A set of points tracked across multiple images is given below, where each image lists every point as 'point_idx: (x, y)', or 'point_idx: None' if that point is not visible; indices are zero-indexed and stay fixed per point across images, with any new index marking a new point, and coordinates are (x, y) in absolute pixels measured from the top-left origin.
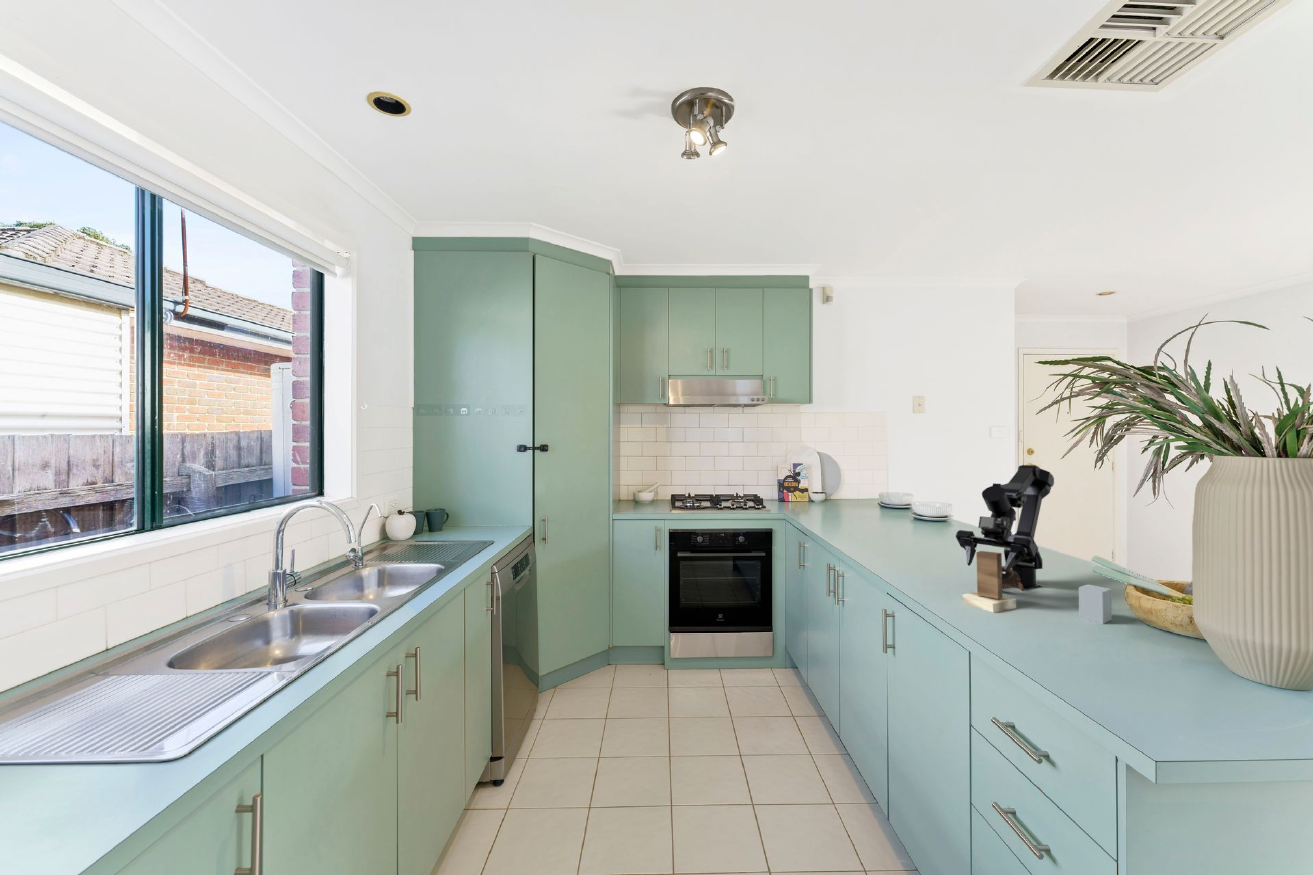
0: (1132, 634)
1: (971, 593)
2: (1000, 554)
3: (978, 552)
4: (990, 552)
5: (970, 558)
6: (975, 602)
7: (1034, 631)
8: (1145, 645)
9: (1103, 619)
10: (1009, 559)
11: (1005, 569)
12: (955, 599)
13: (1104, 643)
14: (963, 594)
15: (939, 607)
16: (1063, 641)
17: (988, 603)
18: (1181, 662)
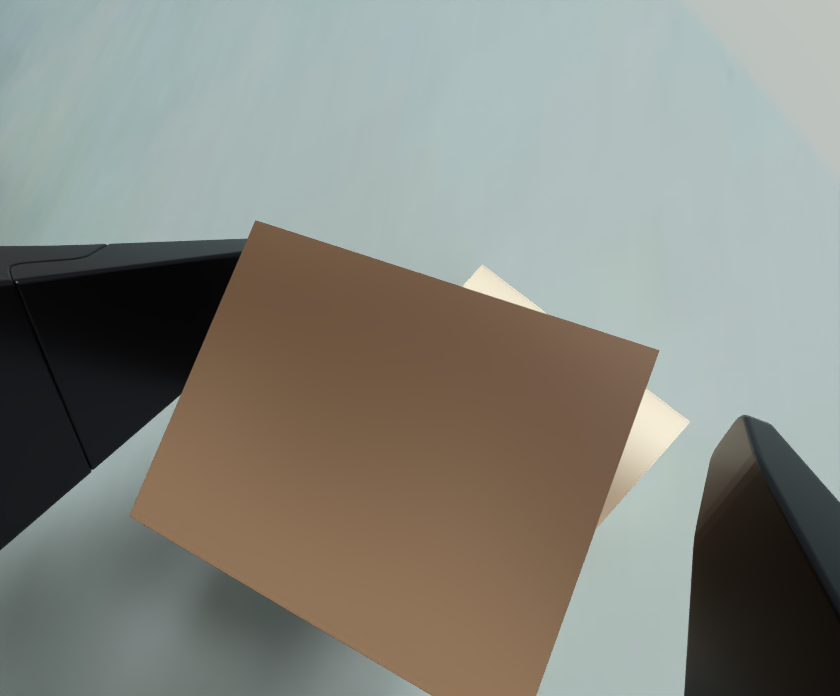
0: (21, 245)
1: (619, 480)
2: (175, 454)
3: (607, 339)
4: (330, 482)
5: (746, 506)
6: None
7: (344, 94)
8: (40, 144)
9: None
10: (138, 249)
11: None
12: None
13: (148, 95)
14: (683, 420)
15: (827, 247)
16: (271, 40)
17: (507, 286)
18: (26, 48)
